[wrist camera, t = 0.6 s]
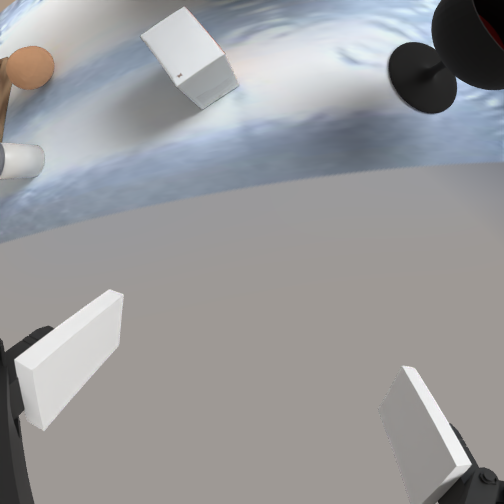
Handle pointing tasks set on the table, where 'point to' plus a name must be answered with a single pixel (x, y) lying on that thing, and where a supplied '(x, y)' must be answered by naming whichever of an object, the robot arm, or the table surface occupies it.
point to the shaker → (20, 160)
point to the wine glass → (452, 55)
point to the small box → (191, 58)
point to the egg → (30, 67)
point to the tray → (3, 93)
